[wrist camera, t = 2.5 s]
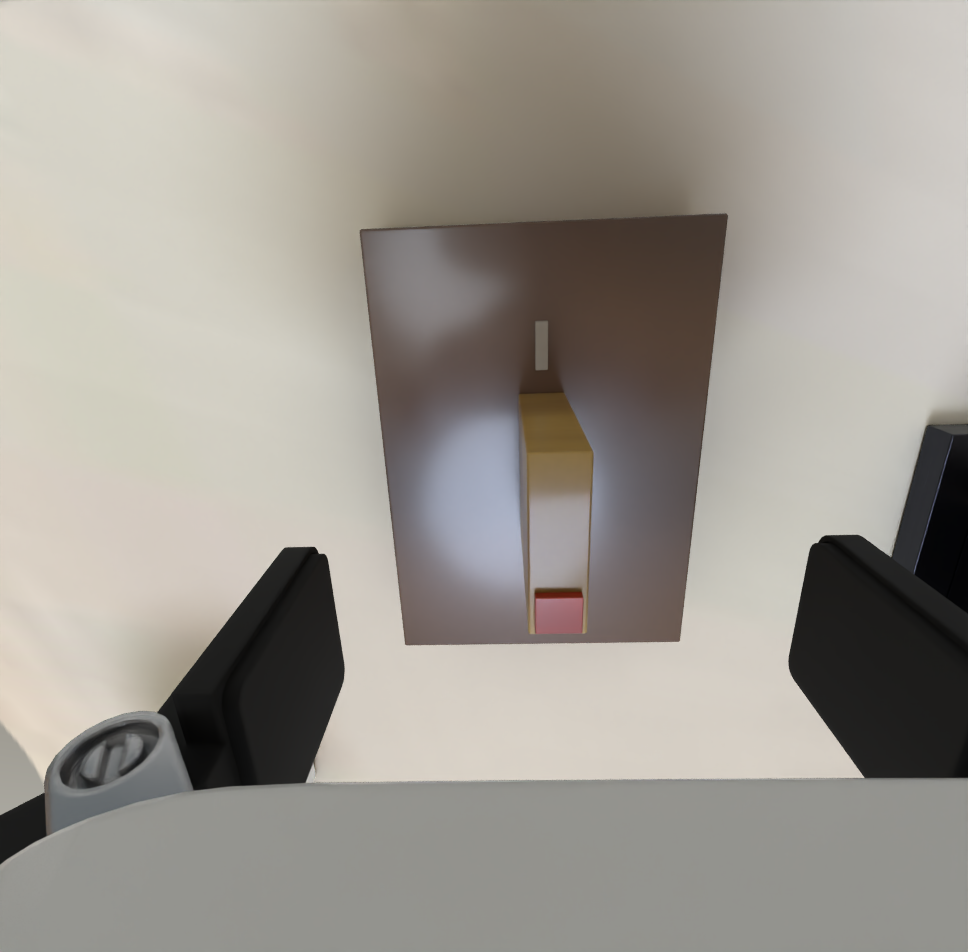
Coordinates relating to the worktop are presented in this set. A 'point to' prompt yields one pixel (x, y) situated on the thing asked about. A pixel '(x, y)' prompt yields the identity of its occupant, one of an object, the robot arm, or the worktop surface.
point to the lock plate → (542, 369)
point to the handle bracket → (939, 515)
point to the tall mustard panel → (554, 513)
